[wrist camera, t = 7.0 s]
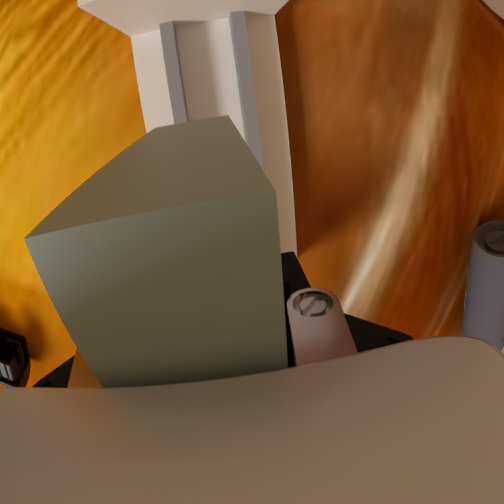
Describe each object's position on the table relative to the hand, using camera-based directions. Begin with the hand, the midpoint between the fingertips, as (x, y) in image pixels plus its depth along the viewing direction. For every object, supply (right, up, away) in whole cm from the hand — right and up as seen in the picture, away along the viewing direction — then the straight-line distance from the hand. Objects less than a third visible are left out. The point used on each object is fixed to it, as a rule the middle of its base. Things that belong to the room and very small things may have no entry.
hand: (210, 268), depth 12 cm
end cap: (-36, -13, +25) cm, 46 cm away
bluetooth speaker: (+37, -4, +30) cm, 48 cm away
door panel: (0, +1, +3) cm, 3 cm away
